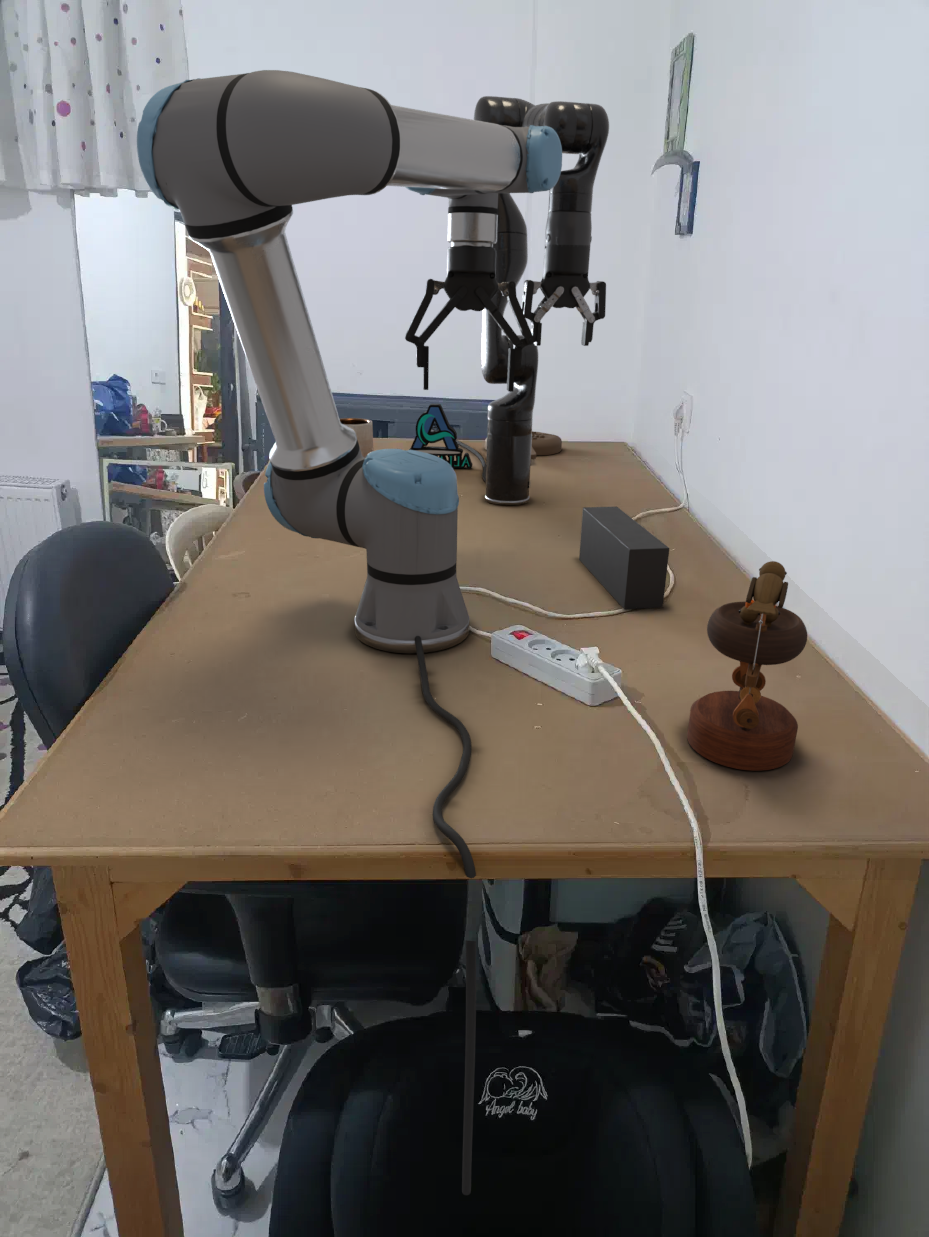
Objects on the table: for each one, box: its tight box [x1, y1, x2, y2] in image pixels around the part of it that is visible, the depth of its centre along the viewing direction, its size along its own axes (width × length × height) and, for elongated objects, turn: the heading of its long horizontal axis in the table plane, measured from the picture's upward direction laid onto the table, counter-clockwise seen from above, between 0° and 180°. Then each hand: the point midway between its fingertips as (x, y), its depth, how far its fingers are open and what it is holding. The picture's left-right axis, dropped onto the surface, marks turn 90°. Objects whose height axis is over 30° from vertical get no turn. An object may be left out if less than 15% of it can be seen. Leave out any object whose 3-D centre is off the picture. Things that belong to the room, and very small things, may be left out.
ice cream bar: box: [484, 431, 563, 460], centre depth 224 cm, size 21×28×4 cm
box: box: [578, 506, 670, 610], centre depth 131 cm, size 23×6×9 cm, turn 9°
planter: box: [339, 417, 375, 458], centre depth 212 cm, size 11×11×10 cm
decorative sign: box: [408, 403, 474, 469], centre depth 205 cm, size 19×2×15 cm, turn 86°
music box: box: [686, 560, 808, 772], centre depth 84 cm, size 15×11×20 cm
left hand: (468, 390), depth 136 cm, fingers open, 13 cm apart
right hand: (560, 345), depth 146 cm, fingers open, 8 cm apart
